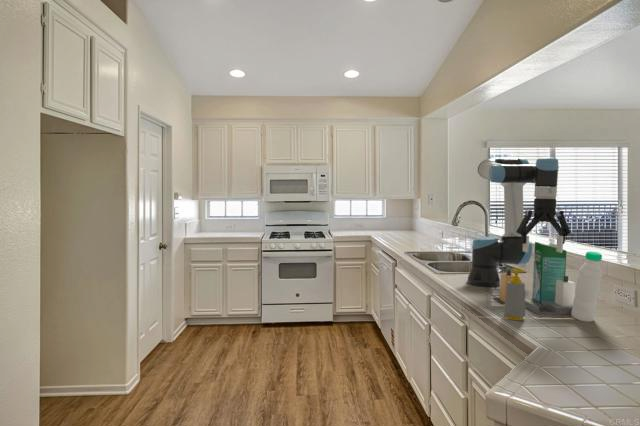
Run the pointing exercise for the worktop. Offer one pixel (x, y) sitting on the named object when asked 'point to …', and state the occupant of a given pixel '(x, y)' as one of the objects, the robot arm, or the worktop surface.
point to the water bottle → (587, 288)
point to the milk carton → (547, 271)
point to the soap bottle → (515, 298)
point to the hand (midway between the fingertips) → (542, 252)
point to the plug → (505, 284)
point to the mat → (499, 301)
